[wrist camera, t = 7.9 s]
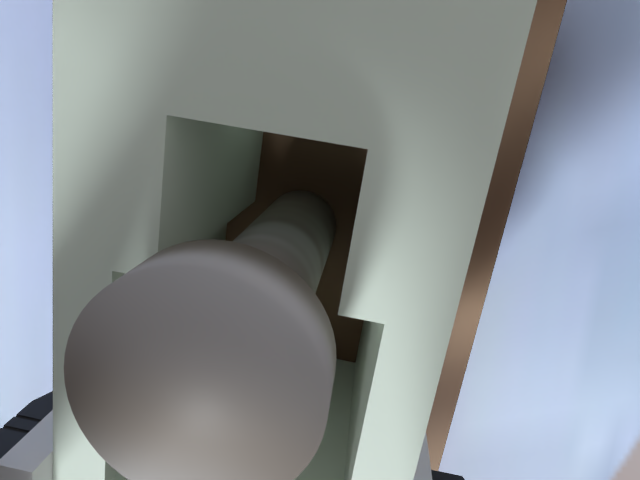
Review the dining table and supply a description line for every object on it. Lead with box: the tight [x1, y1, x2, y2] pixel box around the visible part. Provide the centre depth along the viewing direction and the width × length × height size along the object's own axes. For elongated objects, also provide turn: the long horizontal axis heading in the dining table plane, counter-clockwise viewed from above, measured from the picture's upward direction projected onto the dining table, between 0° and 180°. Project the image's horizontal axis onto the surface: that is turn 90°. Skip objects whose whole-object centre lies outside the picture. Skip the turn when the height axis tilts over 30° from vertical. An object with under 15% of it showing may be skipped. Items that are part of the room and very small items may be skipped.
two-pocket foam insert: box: [53, 0, 537, 480], centre depth 13 cm, size 21×7×7 cm, turn 171°
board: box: [64, 0, 567, 480], centre depth 13 cm, size 25×12×11 cm, turn 171°
